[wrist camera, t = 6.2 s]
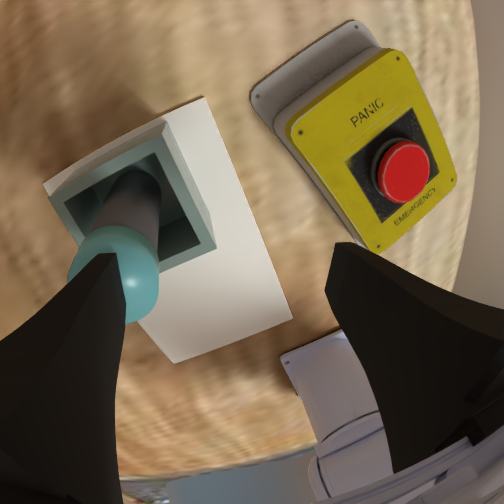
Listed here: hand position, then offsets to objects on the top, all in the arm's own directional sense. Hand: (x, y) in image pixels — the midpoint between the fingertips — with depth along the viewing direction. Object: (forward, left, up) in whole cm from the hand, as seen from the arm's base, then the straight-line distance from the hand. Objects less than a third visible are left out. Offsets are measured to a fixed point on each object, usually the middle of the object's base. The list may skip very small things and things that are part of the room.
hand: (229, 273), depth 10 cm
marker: (+1, +4, -9) cm, 10 cm away
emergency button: (-2, -11, -10) cm, 15 cm away
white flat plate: (-4, +4, -10) cm, 11 cm away
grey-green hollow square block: (+1, +4, -10) cm, 10 cm away
